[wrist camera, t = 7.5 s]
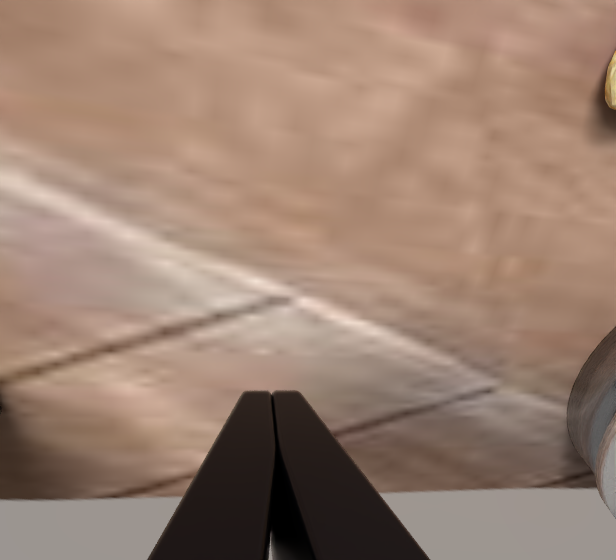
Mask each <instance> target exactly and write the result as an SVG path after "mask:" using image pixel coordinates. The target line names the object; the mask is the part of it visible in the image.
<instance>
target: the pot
mask: <svg viewBox="0 0 616 560" xmlns="http://www.w3.org/2000/svg"><path fill="white" fill-rule="evenodd" d="M615 413H616V327H615V328H614V329H613V330H612V331H611V332H610V333H609V334H608V335H607V336H606V337H605V338H604V339H603V340H602V342H601V343H600V344H599V345H598V347H597V348H596V349H595V350H594V352H593V353H592V354H591V355H590V357H589V359H588V360H587V362H586V363H585V365H584V366H583V368H582V369H581V371H580V373H579V375H578V378H577V380H576V382H575V384H574V386H573V389H572V392H571V395H570V399H569V404H568V410H567V425H568V431H569V436H570V438H571V440H572V443H573V445H574V447H575V448H576V450H577V451H578V453H579V454H580V455H581V457H582V458H583V459H584V461H585V462H586V464H587V465H588V466H589V468H590V469H591V470H592V472H593V473H594V474H595V466H596V458H597V454H598V449H599V446H600V443H601V441H602V438H603V436H604V433H605V431H606V429H607V427H608V425H609V424H610V422H611V420H612V418H613V416H614V415H615Z"/></svg>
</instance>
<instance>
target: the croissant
mask: <svg viewBox="0 0 616 560" xmlns="http://www.w3.org/2000/svg"><path fill="white" fill-rule="evenodd" d="M605 100H606V102H607V104H608V106H609V107H610V108H611V109H614V110H616V51H615V53H614V55H613V57H612V60H611V62H610V64H609V66H608V70H607V77H606V84H605Z"/></svg>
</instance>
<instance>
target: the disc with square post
mask: <svg viewBox="0 0 616 560" xmlns="http://www.w3.org/2000/svg"><path fill="white" fill-rule="evenodd" d="M595 478H596V484H597V488H598V491H599V494H600V496H601V498H602V500H603V501H604V503H605V504H606V506H607V507H608V508H609V510H610V511H611V513H612V514H613V515H614V517H615V518H616V413H615V415H614V416H613V418H612V420H611V422H610V424H609V425H608V427H607V429H606V431H605V433H604V436H603V438H602V441H601V443H600V446H599V449H598V454H597V458H596V466H595Z"/></svg>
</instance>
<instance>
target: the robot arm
mask: <svg viewBox="0 0 616 560" xmlns="http://www.w3.org/2000/svg"><path fill="white" fill-rule="evenodd" d="M1 412H2V408H1V406H0V414H1ZM270 536H271V549H272V557H273V560H430V559H429V558H428V556H427V555H426V554H425V552H424V551H423V550H422V549H421V547H420V546H419V545H418V543H417V542H416V541H415V540H414V538H413V537H412V536H411V535H410V533H409V532H408V531H407V529H406V528H405V527H404V525H403V524H402V523H401V522H400V520H399V519H398V518H397V516H396V515H395V514H394V513H393V511H392V510H391V509H390V507H389V506H388V505H387V504H386V502H385V501H384V500H383V498H382V497H381V496H380V494H379V493H378V492H377V491H376V489H375V488H374V487H373V485H372V484H371V483H370V482H369V480H368V479H367V478H366V476H365V475H364V474H363V473H362V471H361V470H360V469H359V467H358V466H357V465H356V464H355V462H354V461H353V460H352V458H351V457H350V456H349V455H348V453H347V452H346V451H345V449H344V448H343V447H342V446H341V444H340V443H339V442H338V440H337V439H336V438H335V437H334V435H333V434H332V433H331V431H330V430H329V429H328V428H327V426H326V425H325V424H324V422H323V421H322V420H321V419H320V417H319V416H318V415H317V413H316V412H315V411H314V410H313V408H312V407H311V406H310V404H309V403H308V402H307V401H306V399H305V398H304V397H303V395H302V394H301V393H300V392H298V391H274V392H273V393H272V395H271V393H270V392H269V391H245V392H243V393H242V395H241V396H240V398H239V400H238V402H237V403H236V405H235V407H234V409H233V410H232V412H231V414H230V416H229V417H228V419H227V421H226V423H225V424H224V426H223V428H222V430H221V431H220V433H219V435H218V437H217V438H216V440H215V442H214V444H213V445H212V447H211V449H210V451H209V452H208V454H207V456H206V458H205V459H204V461H203V463H202V465H201V467H200V468H199V470H198V472H197V474H196V475H195V477H194V479H193V481H192V482H191V484H190V486H189V488H188V489H187V491H186V493H185V495H184V496H183V498H182V500H181V502H180V504H179V505H178V507H177V509H176V511H175V512H174V514H173V516H172V517H171V519H170V521H169V523H168V524H167V526H166V528H165V530H164V532H163V533H162V535H161V537H160V538H159V540H158V542H157V544H156V546H155V547H154V549H153V551H152V552H151V554H150V556H149V558H148V560H268V559H269V547H270Z"/></svg>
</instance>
